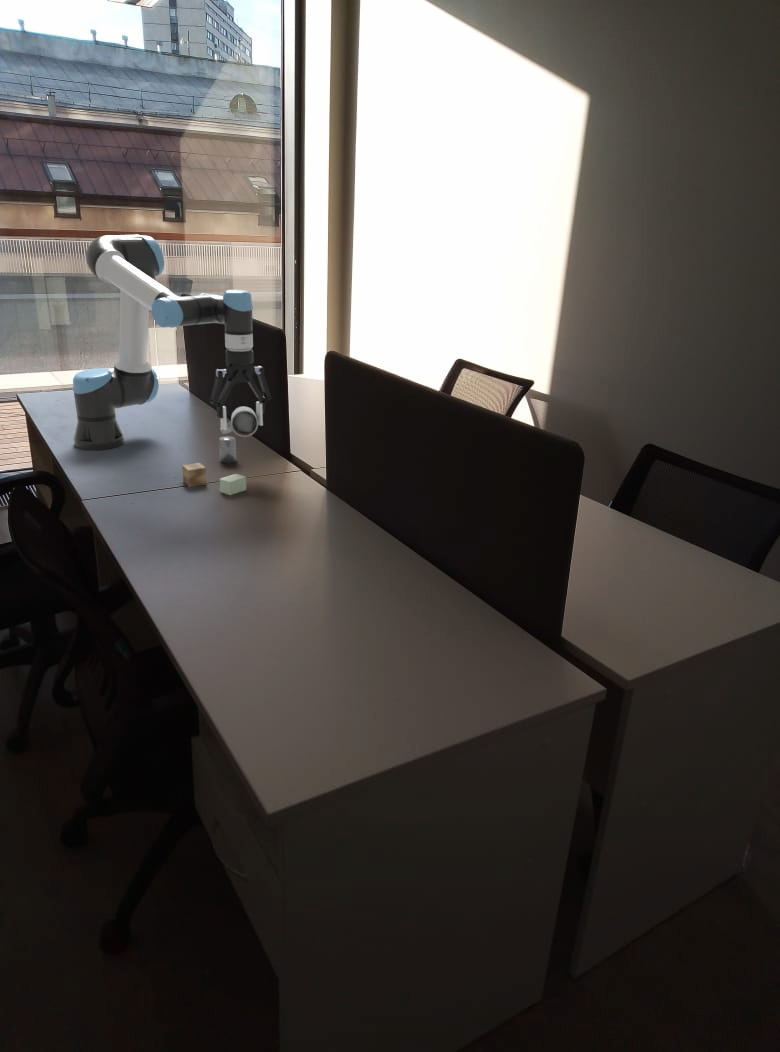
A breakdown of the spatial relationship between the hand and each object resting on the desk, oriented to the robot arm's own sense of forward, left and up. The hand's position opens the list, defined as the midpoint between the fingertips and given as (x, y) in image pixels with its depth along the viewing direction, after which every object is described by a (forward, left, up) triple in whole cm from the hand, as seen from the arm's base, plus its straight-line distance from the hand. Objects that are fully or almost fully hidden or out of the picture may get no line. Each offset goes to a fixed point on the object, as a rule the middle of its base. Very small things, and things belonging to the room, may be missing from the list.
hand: (241, 426), depth 220 cm
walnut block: (-15, 0, -15) cm, 21 cm away
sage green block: (-8, -11, -15) cm, 20 cm away
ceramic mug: (0, +1, -2) cm, 3 cm away
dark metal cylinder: (+1, +15, -15) cm, 21 cm away
